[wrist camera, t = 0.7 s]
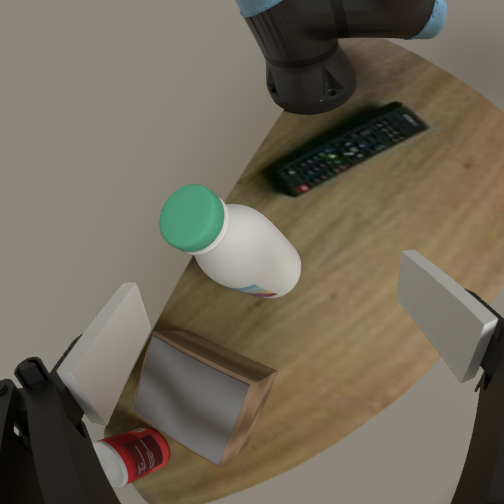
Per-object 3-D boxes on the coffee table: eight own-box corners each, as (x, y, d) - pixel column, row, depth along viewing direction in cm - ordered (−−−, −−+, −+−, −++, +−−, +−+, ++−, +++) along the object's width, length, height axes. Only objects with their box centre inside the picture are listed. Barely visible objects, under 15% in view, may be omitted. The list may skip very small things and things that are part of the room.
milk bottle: (275, 228, 38) (197, 144, 20) (315, 269, 34) (262, 208, 16) (233, 267, 38) (127, 218, 20) (269, 311, 35) (172, 296, 17)
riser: (186, 330, 39) (149, 329, 32) (277, 370, 33) (255, 383, 26) (164, 399, 37) (128, 409, 30) (246, 445, 32) (219, 469, 24)
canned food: (130, 444, 38) (84, 459, 28) (145, 416, 38) (94, 430, 28) (161, 473, 34) (117, 496, 24) (178, 448, 35) (131, 471, 25)
